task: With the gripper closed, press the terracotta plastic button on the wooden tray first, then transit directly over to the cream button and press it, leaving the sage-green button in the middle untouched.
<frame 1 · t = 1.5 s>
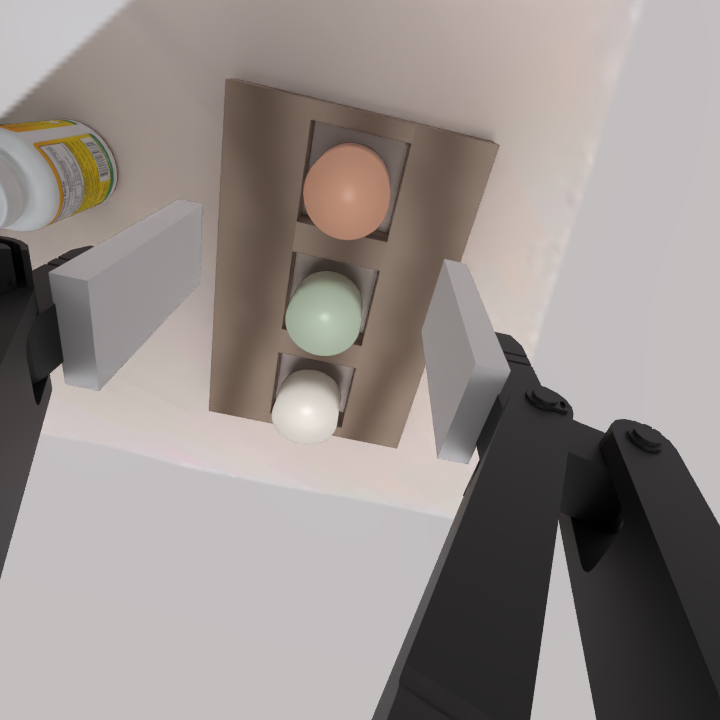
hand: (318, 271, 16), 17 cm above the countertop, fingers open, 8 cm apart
terracotta button: (348, 191, 27), point 4 cm above the countertop, slide at 0.0 cm
cream button: (307, 406, 35), point 4 cm above the countertop, slide at 0.0 cm
wooden tray: (331, 290, 34), on the countertop
sage button: (325, 313, 31), point 4 cm above the countertop, slide at 0.0 cm
supplement bottle: (80, 162, 31), on the countertop
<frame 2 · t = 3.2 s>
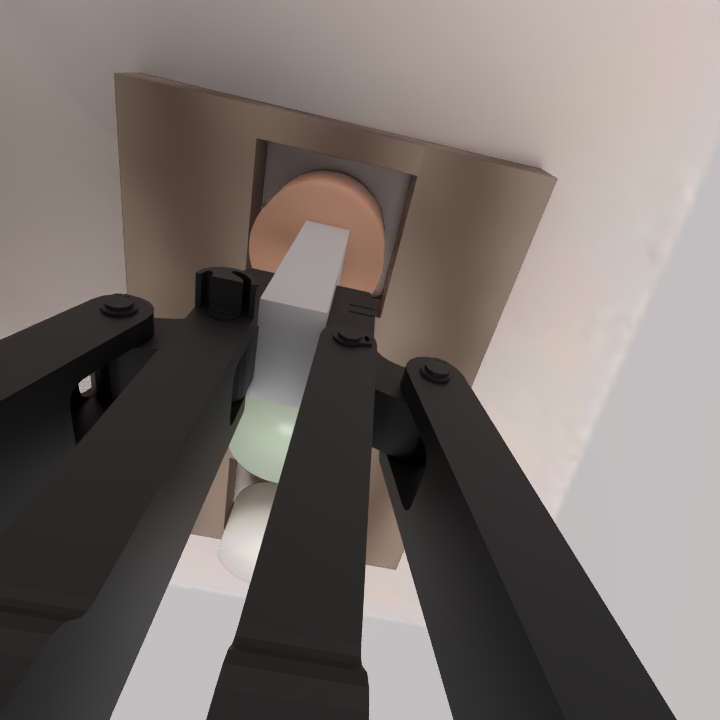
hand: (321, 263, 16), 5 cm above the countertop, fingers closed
terracotta button: (321, 244, 18), point 3 cm above the countertop, slide at 1.1 cm, touching gripper
cream button: (270, 534, 25), point 4 cm above the countertop, slide at 0.0 cm
wooden tray: (303, 373, 24), on the countertop
sage button: (289, 421, 21), point 4 cm above the countertop, slide at 0.0 cm
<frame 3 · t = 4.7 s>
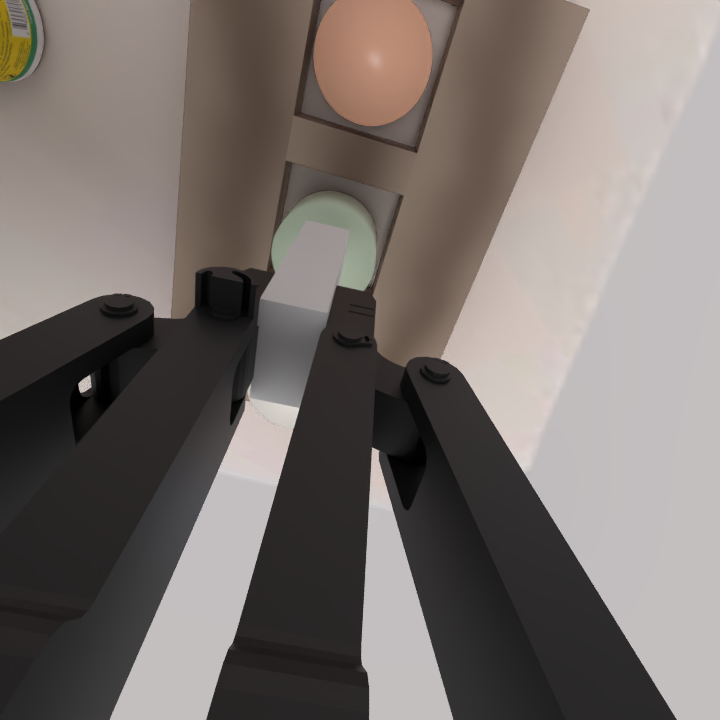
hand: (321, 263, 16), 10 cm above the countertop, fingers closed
terracotta button: (373, 61, 20), point 2 cm above the countertop, slide at 1.8 cm
cream button: (295, 379, 27), point 4 cm above the countertop, slide at 0.0 cm
wooden tray: (335, 226, 26), on the countertop
sage button: (327, 248, 23), point 4 cm above the countertop, slide at 0.0 cm
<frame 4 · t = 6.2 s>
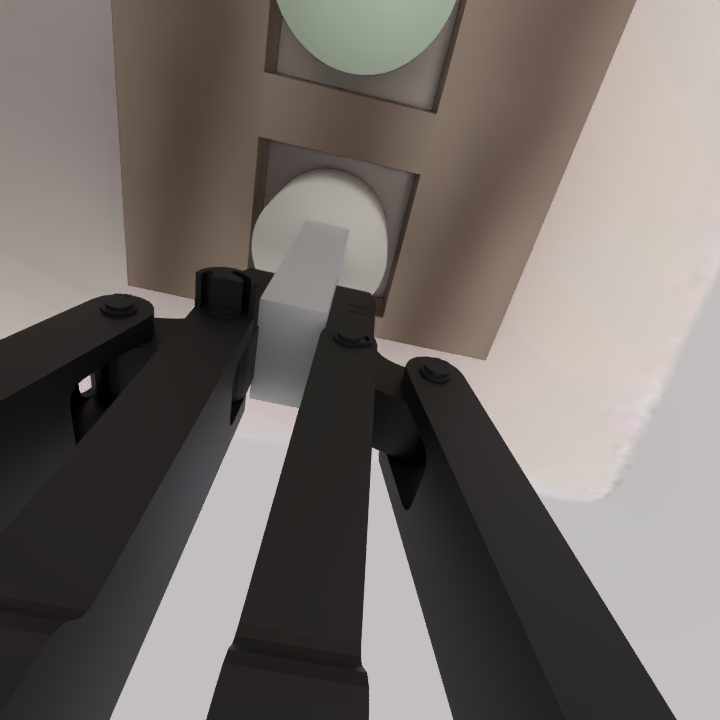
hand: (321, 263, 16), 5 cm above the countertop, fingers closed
cream button: (324, 242, 18), point 3 cm above the countertop, slide at 1.2 cm, touching gripper
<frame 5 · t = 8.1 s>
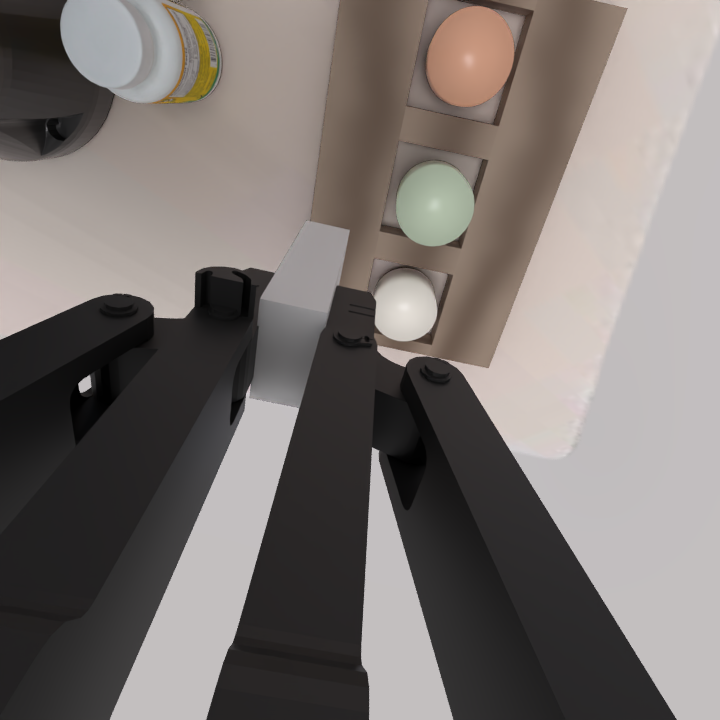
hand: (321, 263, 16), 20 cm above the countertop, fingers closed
terracotta button: (467, 60, 28), point 2 cm above the countertop, slide at 1.8 cm
cream button: (404, 304, 36), point 2 cm above the countertop, slide at 1.8 cm
wooden tray: (430, 192, 33), on the countertop
sage button: (433, 203, 30), point 4 cm above the countertop, slide at 0.0 cm
supplement bottle: (184, 56, 31), on the countertop
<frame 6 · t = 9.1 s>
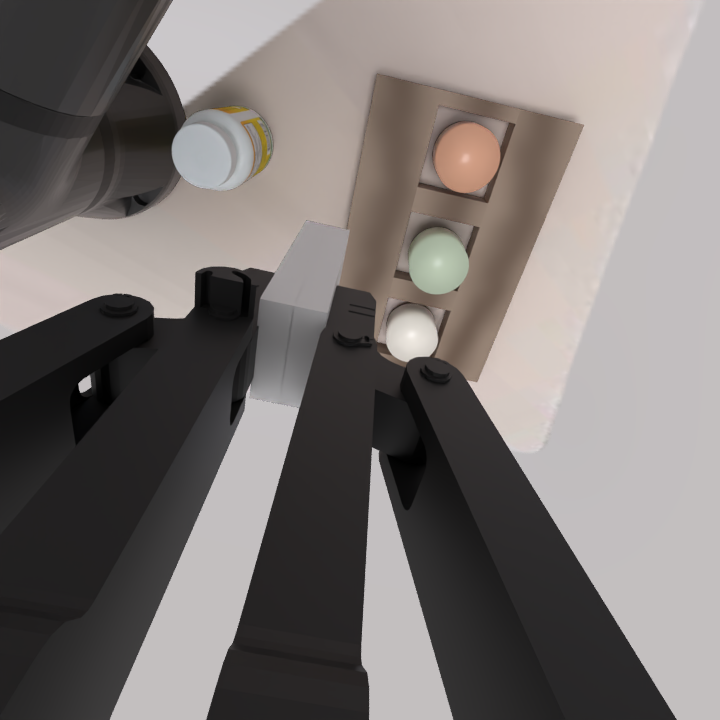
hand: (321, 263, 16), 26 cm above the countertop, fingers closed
terracotta button: (465, 156, 36), point 2 cm above the countertop, slide at 1.8 cm
cream button: (411, 332, 45), point 2 cm above the countertop, slide at 1.8 cm
wooden tray: (433, 246, 42), on the countertop
sage button: (437, 260, 39), point 4 cm above the countertop, slide at 0.0 cm
supplement bottle: (242, 141, 39), on the countertop
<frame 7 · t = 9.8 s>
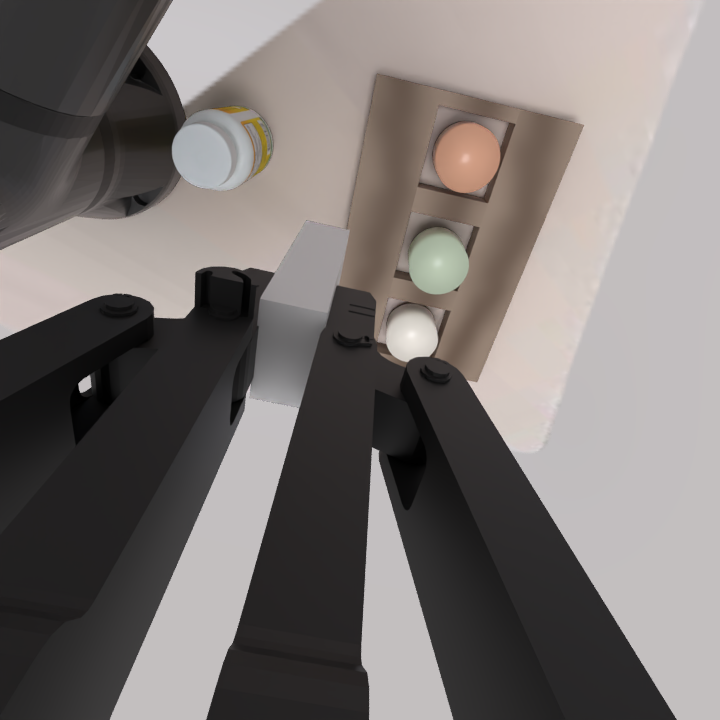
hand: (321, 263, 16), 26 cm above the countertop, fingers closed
terracotta button: (465, 156, 36), point 2 cm above the countertop, slide at 1.8 cm
cream button: (411, 332, 45), point 2 cm above the countertop, slide at 1.8 cm
wooden tray: (433, 246, 42), on the countertop
sage button: (437, 260, 39), point 4 cm above the countertop, slide at 0.0 cm
supplement bottle: (242, 141, 39), on the countertop
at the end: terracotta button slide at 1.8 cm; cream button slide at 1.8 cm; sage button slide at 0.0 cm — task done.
